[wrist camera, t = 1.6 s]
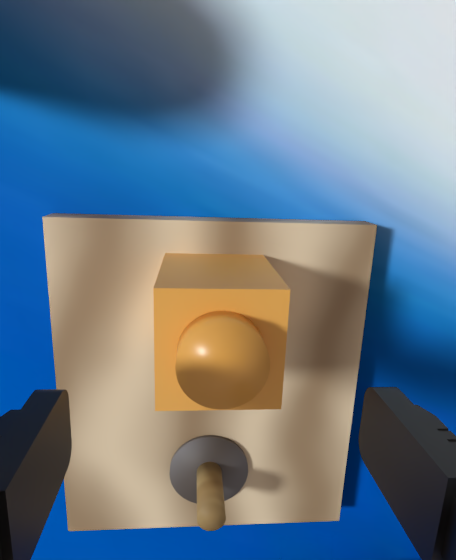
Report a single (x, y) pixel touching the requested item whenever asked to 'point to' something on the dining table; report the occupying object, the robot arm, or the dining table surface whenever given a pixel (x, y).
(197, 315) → the cube with dome
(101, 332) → the board
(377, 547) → the dining table surface
